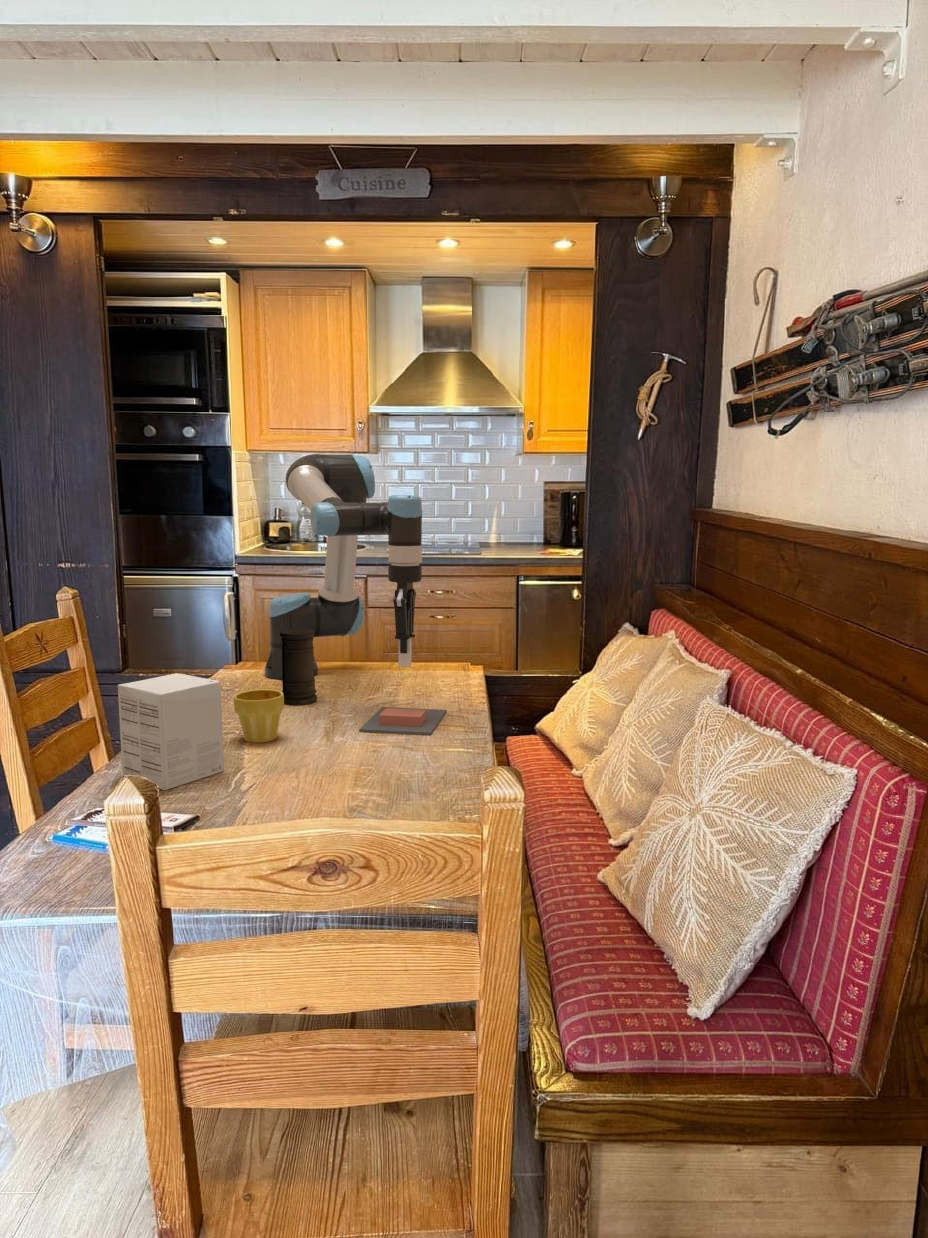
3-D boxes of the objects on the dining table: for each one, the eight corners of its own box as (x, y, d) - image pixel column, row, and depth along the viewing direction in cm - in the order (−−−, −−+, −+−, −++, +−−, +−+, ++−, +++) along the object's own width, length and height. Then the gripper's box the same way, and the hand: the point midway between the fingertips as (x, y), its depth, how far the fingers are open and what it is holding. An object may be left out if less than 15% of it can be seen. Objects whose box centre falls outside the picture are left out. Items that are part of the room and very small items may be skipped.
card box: (386, 708, 194) (378, 715, 187) (426, 709, 192) (420, 717, 186) (386, 717, 194) (379, 724, 188) (426, 719, 192) (420, 726, 186)
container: (321, 697, 215) (319, 628, 213) (311, 706, 206) (309, 634, 204) (287, 696, 216) (285, 628, 214) (276, 705, 207) (274, 633, 205)
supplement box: (181, 759, 165) (177, 672, 162) (225, 771, 157) (222, 680, 155) (120, 777, 154) (115, 684, 151) (164, 791, 146) (159, 694, 144)
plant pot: (229, 745, 173) (227, 699, 172) (242, 732, 184) (241, 688, 182) (278, 746, 173) (277, 700, 172) (289, 732, 184) (288, 688, 182)
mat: (381, 709, 204) (381, 707, 203) (446, 712, 201) (446, 709, 201) (359, 731, 184) (359, 729, 184) (430, 735, 182) (430, 732, 181)
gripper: (395, 560, 195) (395, 659, 199) (381, 566, 182) (381, 671, 186) (427, 561, 194) (426, 661, 198) (415, 567, 181) (414, 673, 185)
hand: (404, 666), depth 192 cm, fingers closed
